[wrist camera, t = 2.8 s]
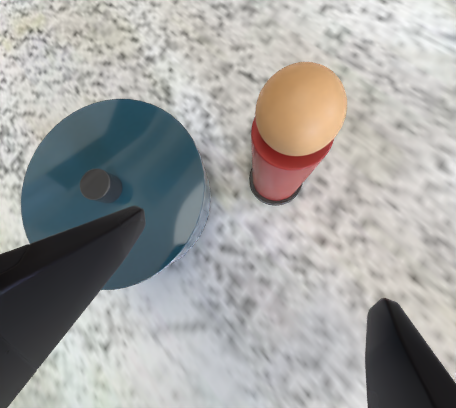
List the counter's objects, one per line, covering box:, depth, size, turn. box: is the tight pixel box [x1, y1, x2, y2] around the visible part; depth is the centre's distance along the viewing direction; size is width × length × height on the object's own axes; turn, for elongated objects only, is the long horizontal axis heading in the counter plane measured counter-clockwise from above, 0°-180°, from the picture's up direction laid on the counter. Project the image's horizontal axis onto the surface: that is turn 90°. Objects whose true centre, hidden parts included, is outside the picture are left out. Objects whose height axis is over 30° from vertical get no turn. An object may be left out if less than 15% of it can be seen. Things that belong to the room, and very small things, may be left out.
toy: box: [249, 62, 347, 205], centre depth 15 cm, size 5×5×14 cm
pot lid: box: [21, 99, 206, 290], centre depth 17 cm, size 14×14×3 cm
